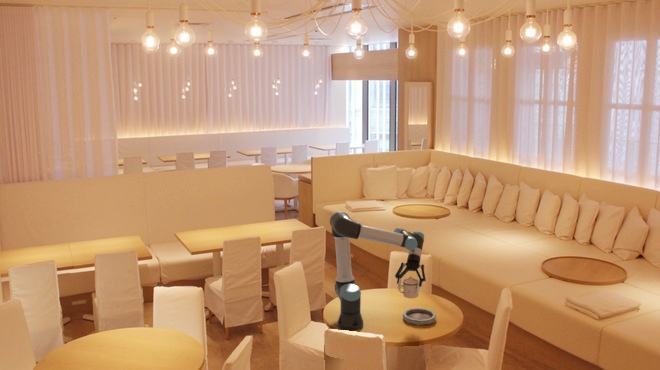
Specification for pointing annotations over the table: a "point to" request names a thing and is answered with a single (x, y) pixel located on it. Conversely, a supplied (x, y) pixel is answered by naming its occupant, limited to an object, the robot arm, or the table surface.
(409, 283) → the teacup with lid
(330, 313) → the table surface
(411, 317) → the round grey tray
